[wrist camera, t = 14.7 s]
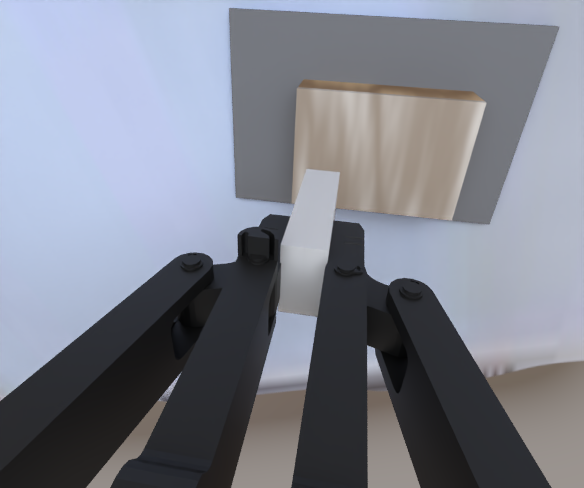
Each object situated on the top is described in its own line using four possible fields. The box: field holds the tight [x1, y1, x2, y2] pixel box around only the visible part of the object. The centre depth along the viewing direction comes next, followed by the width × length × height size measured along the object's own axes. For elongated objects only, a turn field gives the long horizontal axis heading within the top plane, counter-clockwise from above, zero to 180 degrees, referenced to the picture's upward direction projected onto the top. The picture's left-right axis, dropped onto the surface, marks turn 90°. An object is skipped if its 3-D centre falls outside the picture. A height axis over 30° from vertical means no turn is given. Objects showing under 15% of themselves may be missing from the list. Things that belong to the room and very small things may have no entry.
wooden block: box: [292, 79, 486, 221], centre depth 24 cm, size 3×7×10 cm
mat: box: [229, 8, 559, 224], centre depth 25 cm, size 18×12×1 cm, turn 88°
